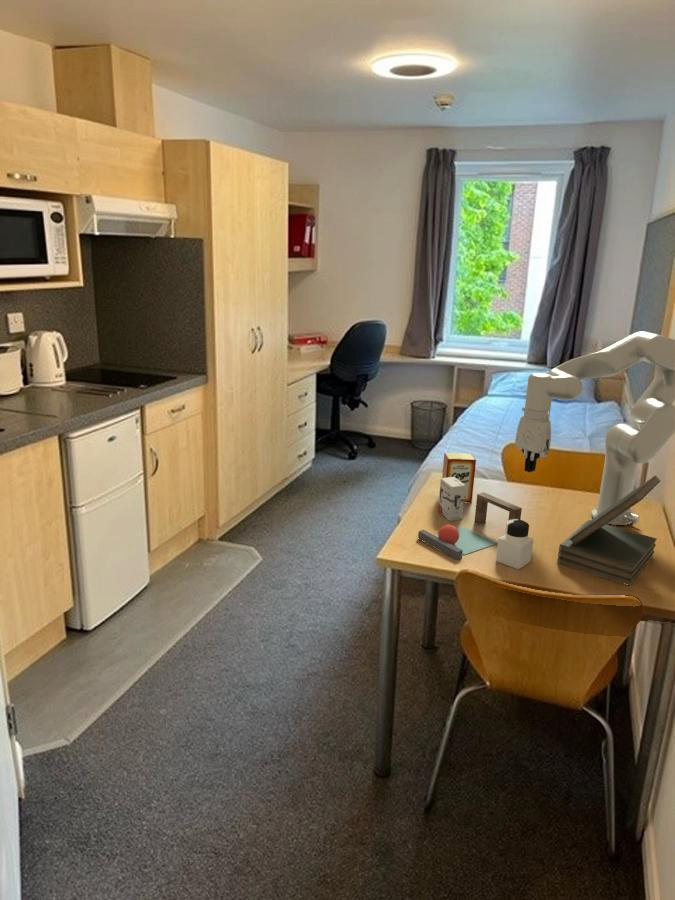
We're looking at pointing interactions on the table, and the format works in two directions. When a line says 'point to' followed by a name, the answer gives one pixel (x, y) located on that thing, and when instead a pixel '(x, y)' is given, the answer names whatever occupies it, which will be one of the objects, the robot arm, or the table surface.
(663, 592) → the table surface
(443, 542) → the stopper wall
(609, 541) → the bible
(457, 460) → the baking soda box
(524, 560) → the medicine bottle
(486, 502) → the bridge
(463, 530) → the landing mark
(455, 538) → the ball
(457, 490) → the ink box
